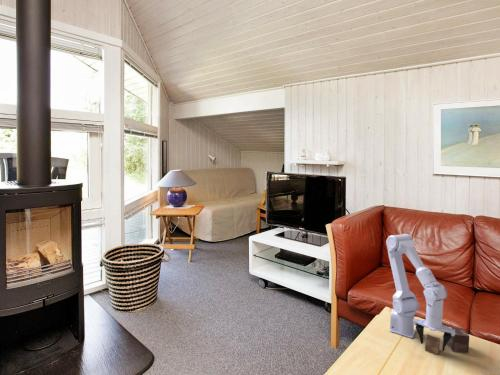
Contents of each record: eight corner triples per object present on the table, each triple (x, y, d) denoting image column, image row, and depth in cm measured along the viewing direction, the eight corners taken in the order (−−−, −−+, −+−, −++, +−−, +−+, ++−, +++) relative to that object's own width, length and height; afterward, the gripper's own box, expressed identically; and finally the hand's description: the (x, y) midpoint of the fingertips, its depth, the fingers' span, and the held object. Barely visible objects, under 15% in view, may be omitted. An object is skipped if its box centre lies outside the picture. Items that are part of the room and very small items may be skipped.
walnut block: (425, 351, 128) (425, 339, 127) (426, 345, 131) (427, 334, 131) (437, 355, 125) (438, 343, 125) (439, 349, 129) (439, 338, 128)
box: (468, 353, 126) (470, 336, 125) (452, 351, 127) (453, 334, 127) (461, 344, 132) (462, 328, 131) (446, 342, 133) (447, 326, 133)
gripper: (412, 313, 128) (410, 344, 129) (454, 324, 119) (452, 358, 120) (415, 306, 134) (414, 336, 135) (456, 316, 125) (454, 349, 126)
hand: (432, 346), depth 128 cm, fingers open, 7 cm apart
